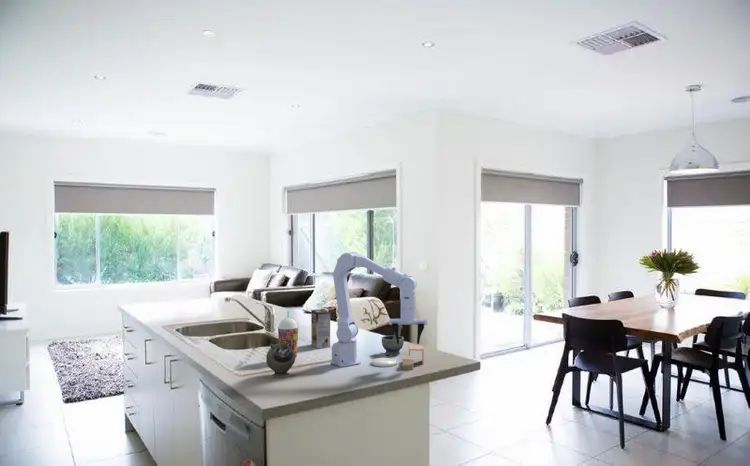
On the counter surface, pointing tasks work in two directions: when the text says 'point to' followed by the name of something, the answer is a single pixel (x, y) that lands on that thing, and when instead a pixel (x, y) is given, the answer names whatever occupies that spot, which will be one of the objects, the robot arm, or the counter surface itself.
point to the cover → (417, 348)
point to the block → (407, 362)
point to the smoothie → (288, 332)
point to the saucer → (384, 362)
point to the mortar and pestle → (393, 343)
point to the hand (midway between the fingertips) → (408, 343)
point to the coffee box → (320, 328)
